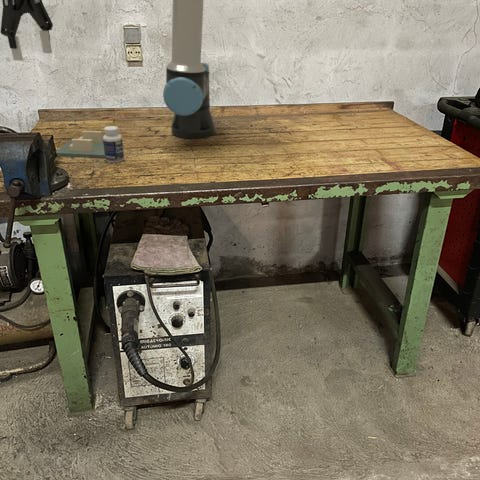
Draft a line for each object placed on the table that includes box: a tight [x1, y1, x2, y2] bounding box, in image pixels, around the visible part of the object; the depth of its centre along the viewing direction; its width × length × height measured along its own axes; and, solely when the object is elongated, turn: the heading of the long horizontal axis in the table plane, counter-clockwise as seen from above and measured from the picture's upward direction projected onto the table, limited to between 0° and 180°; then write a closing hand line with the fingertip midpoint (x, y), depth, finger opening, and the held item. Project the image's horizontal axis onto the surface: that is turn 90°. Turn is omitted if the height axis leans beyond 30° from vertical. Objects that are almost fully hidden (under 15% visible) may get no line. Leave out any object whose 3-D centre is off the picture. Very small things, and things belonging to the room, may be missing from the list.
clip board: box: [55, 130, 105, 159], centre depth 155 cm, size 16×14×4 cm
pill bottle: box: [102, 125, 125, 164], centre depth 145 cm, size 5×5×10 cm
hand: (33, 56), depth 150 cm, fingers open, 13 cm apart
